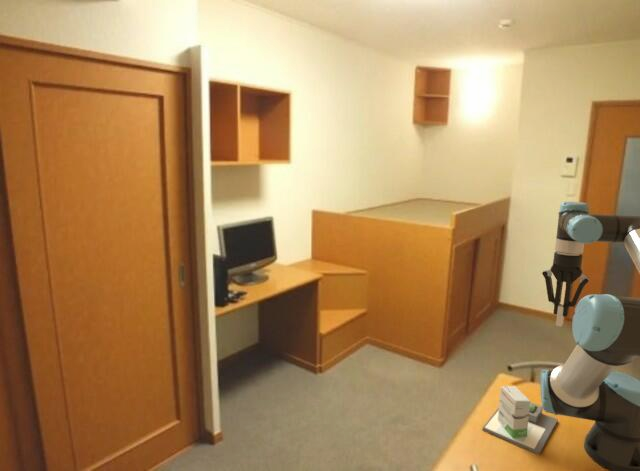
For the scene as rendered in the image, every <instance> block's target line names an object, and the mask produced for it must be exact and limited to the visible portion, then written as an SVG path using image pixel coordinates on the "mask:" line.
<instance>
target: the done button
mask: <svg viewBox="0 0 640 471" xmlns="http://www.w3.org/2000/svg"><path fill="white" fill-rule="evenodd" d="M532 403H533V402H531V403H530V409H529V412H530V413H533V414H534V412H535V405H534V404H535V403H534V404H532Z"/></svg>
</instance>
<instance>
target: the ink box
mask: <svg viewBox="0 0 640 471" xmlns="http://www.w3.org/2000/svg"><path fill="white" fill-rule="evenodd" d="M499 392H500V393H499V402H498V408H499V411H498V421H499V423H500V424H501V425H502V426H503V427H504V428H505V429H506V431H507V432H508V433H509V434H510V435H511V436H512V437H513V438H514V437H524V436H527V429H528V419H529V409H530V402H531V400H530V399H529V398H528V397H527V396H526V395H525V394H524V393H523V392H522V391H521V390H520V389H519V388H518V387H517V386H516V385H504V386H500V390H499Z"/></svg>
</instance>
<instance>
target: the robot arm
mask: <svg viewBox="0 0 640 471" xmlns="http://www.w3.org/2000/svg"><path fill="white" fill-rule="evenodd" d="M559 206H560V207H559V211H558V213H557V214H558V218H557V219H558V221H557V227H556V228H557V230H556V237H555V242H554V244H555V245H554V250H555V252H554V253H553V262H552V265H551V267H550V268H549V269H546V270H543V272H542V273H541V274H542V276H543V278H544V282H545V286H546V294H547V301H548V302H550V303H552V304H553V315H556V319H555V326H556V327H562V326H563V325H564V318H566V317H567V316H568V315H569V310H570V307H573V308H574V307H575V309H574V315H573V316H572V321H571V323H572V324H571V327H572V328H571V330H572V336H573V338H574V341H575V344H576V346H575V347H574V349H573V351H571V354H570V355H569V356H568V358H567V360H566V361H565V363H563V364H560V365H558V366H556V367H554V369H553V370H551V369H542V370H541V371H540V378H539V380H540V383H539V384H540V385H539V386H540V387H539V388H540V400H541V406H542V407H543V411H544V412H546V413H549V414H553V415H555V416H558V415H559V416H565V417H571V418H577V419H581V420H589V421H593V425H592V426H591V427H590V429H589V431H588V432H587V434H586V435H585V436H584V437H585V438H584V443H583V447H584V451H585V452H586V455H588V456H589V457H590V458H591V459H592V460H593V461H595V463H596V464H599V465H600V466H601V467H603V468H606V469H608V470H610V471H640V379H637V378H636V377H634V376H632V375H629V374H626V373H624V372H621V371H615V369H616V367H621V366H626V365H629V364H630V363H632V362H633V361H634V360H636V358H637V357H640V297H629V296H619V295H618V296H617V295H613V294H609V293H604V294H603V293H601V294H596V293H595V294H593V293H591V294H588V295H585V296H584V297H582V298H581V299H580V296H581V295H582V292H583V291H584V288H585V286H586V285H587V283H589V281H590V280H591V278H590V277H588V276H585V274H583V271H582V262H583V253H584V248H585V244H592V243H594V242H597V243H598V242H599V243H613V244H614V243H615V244H623V246H624V248H625V249H626V251H627V253H628V254H629V256H630V259H631V260H632V262H633V264H634V265H635V268H636V270H637V271H638V274H639V275H640V215H638V216H637V215H617V214H615V215H614V214H597V213H594V214H593V213H590V211H589V210H590V205H589V204H588V203H586V202H581V201H563V202H562V203H560V205H559ZM552 275H553V277H555V280H556V288H555V292H554V286H553V279H552V278H553V277H552ZM577 279H579V281H578V282H579V284H578V286H577V289H576V290H575V293H574V295H573V297H572V296H571V295H572V290H573V289H572V288H573V284H574V282H575V281H577ZM564 283H565V289H564V291H565V292H564V299H563V303H562V301H561V300H562V292H563V286H564V285H563V284H564ZM554 293H555V294H554ZM571 297H572V300H571ZM579 299H580V300H579Z"/></svg>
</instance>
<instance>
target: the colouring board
mask: <svg viewBox="0 0 640 471" xmlns="http://www.w3.org/2000/svg"><path fill="white" fill-rule="evenodd" d="M530 403H532V404H534V405H535V412H534V414H533V413H530V412H529V419H528V429H527V436H524V437H514V438H513V437H512V436H511V435H510V434H509V433H508V432H507V431H506V429H505V428H504V427H503V426H502V425H501V424H500V423H499V421H498V411H499V407H498V408H497V409H496V410H495V412H494V413H493V414H492V415H491V416H490V418H489V419H488V421H486V423H485V424H484V425H483V426H482V431H483V432H486V433H488V434H490V435H493V436H495V437H497V438H499V439H502V440H504V441H506V442H509V443H511V444H513V445H515V446H518V447H520V448H522V449H524V450H527V451H530V452H531V453H534V454H536V455H538V456H540V454H541V453H542V451H543V449H544V447H545V446H546V443H547V441H548V440H549V438H550V436H551V434H552V432H553V431H554V429H555V427H556V425H557V424H558V420H559V419H558V418H555V417H553V416H551V415H547V414H545V413H543V411H544V409H543V407H542V405H539V404H537V403H533V402H531V401H530Z"/></svg>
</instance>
